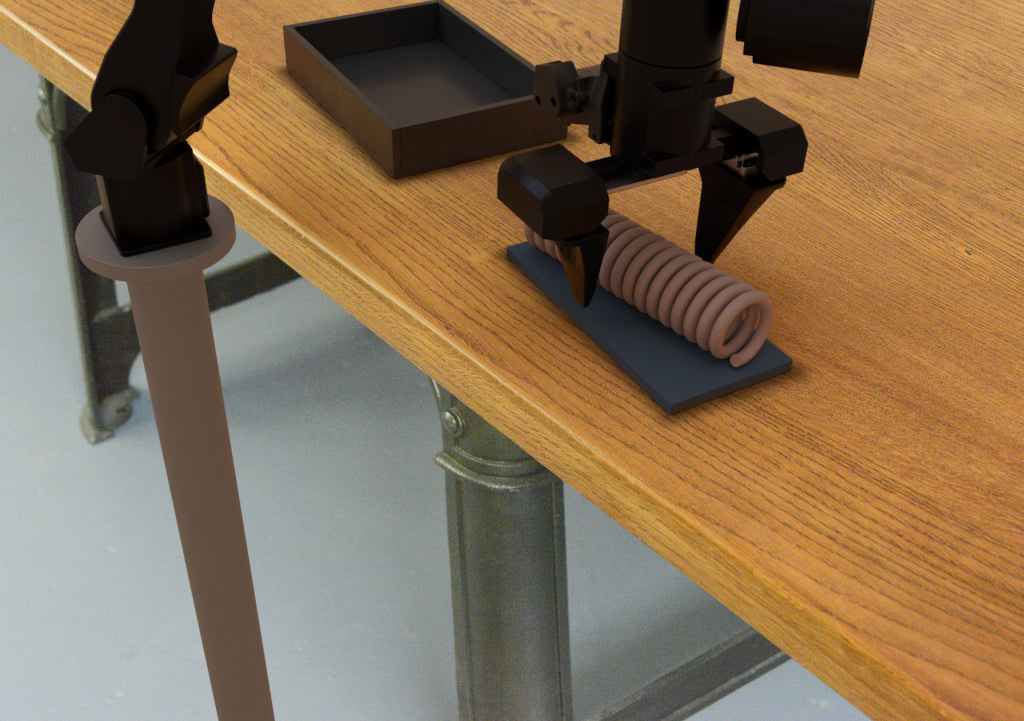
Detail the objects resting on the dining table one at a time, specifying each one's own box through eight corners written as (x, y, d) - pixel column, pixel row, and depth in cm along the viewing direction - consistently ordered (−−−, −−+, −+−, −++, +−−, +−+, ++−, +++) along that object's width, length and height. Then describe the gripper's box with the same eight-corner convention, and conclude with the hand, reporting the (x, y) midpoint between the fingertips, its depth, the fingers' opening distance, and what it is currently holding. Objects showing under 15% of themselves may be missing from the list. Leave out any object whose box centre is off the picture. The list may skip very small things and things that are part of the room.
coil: (517, 196, 75) (731, 321, 64) (569, 168, 77) (784, 284, 66) (520, 254, 78) (725, 382, 67) (570, 226, 80) (776, 346, 69)
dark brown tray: (393, 179, 87) (391, 129, 84) (286, 70, 102) (282, 25, 99) (567, 138, 93) (570, 90, 90) (441, 41, 108) (441, -2, 106)
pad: (669, 415, 66) (671, 404, 65) (505, 256, 78) (506, 246, 78) (791, 370, 69) (793, 359, 69) (615, 225, 82) (616, 216, 82)
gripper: (715, -23, 73) (685, 195, 82) (452, 26, 65) (453, 260, 74) (836, 39, 65) (788, 271, 74) (554, 102, 57) (541, 352, 67)
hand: (643, 284), depth 73 cm, fingers open, 9 cm apart
